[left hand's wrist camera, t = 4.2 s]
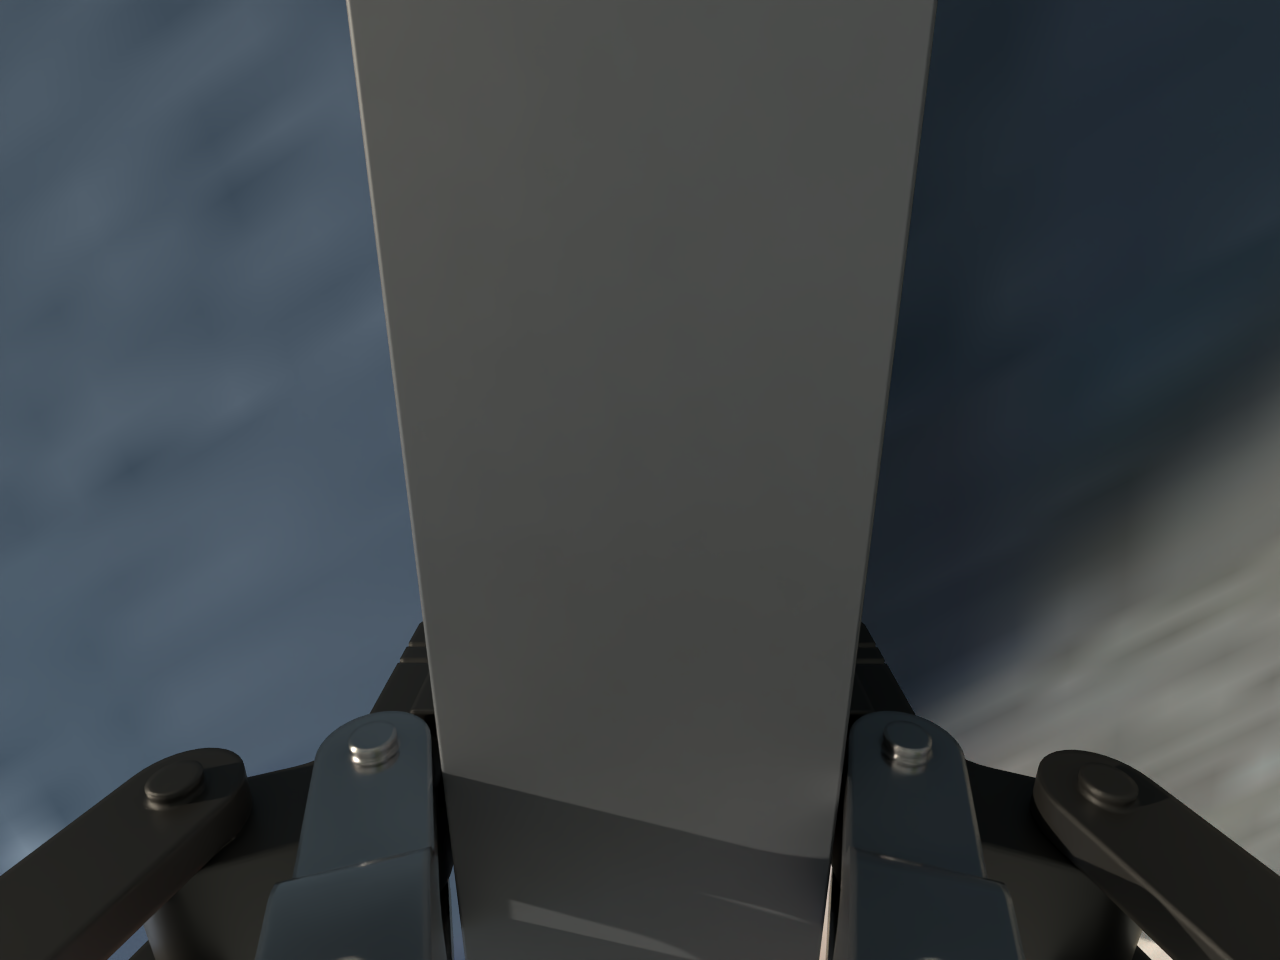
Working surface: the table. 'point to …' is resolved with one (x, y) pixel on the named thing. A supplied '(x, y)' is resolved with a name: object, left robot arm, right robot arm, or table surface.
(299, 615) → the table surface
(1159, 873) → the left robot arm
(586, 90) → the bar
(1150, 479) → the table surface
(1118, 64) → the table surface
